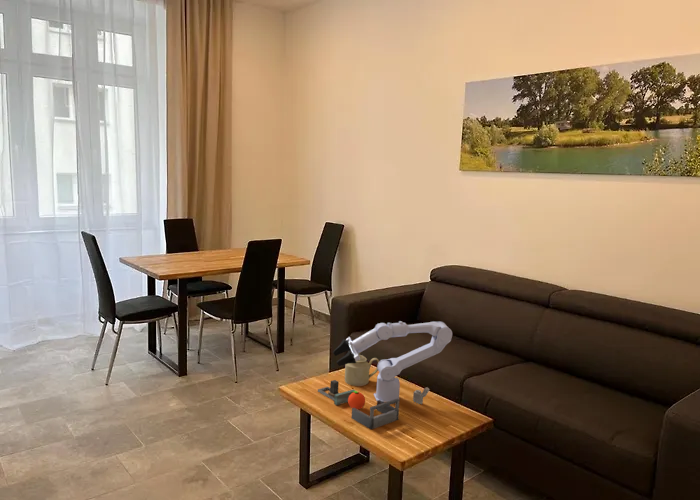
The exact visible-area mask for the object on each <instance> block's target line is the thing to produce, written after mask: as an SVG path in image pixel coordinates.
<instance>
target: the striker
mask: <svg viewBox="0 0 700 500" xmlns="http://www.w3.org/2000/svg"><path fill="white" fill-rule="evenodd" d="M329 388H330V391H328V392H327V393H328V394H329V395H331V396H333V397H335V398H334V400H333V401H334V403H333V404H334V405H335V406H339V405H342V404H346V403H348V398H349V396H350V395H351V392H352V391H357V390H355V389H350V390H347V391H346V390H345V391H343V392H339V381H338V380H337V379H334V380H331V381H330V385H329ZM338 392H339V393H338ZM352 393H353V392H352Z"/></svg>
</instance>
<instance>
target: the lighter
mask: <svg viewBox="0 0 700 500" xmlns="http://www.w3.org/2000/svg"><path fill="white" fill-rule="evenodd" d="M429 391H430V388H429V387H428V386H427V387H424V389H423V391H422V390H420V389H415V391H413V393H412V394H413V396H412V400H413V401H414V402H413V401H412V402H413V403H415V402H416V403H415V404H417V403H418V404H417V405H419V404H421V405H423V403H424V398H425V397H426V396H427V395H428V393H429Z"/></svg>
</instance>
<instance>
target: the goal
mask: <svg viewBox="0 0 700 500" xmlns="http://www.w3.org/2000/svg"><path fill="white" fill-rule="evenodd" d="M400 402H401V401H400V398H399V399H398V398H397V399H394V400H391V401H388V402H383V401H381V400H376V405H372V406H370V407H369V415H368V414H367V413H365V412H363V411H361V410H360V409H356V408H351V417H350V418H351V419H352V420H354V421H356V422H358V423H359V424H361V425H362V426H364V427H366V428H367V429H369V430H373V429H374V430H375V429H376V428H379V427H382V426H385V425H388V424H390V423H394V422H395V421H398V420H399V417H400ZM394 404H395V405H394ZM392 405H394V406H392ZM375 411H377V412H379V413H380V414H378V415H375Z"/></svg>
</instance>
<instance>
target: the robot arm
mask: <svg viewBox="0 0 700 500" xmlns="http://www.w3.org/2000/svg"><path fill="white" fill-rule="evenodd" d="M417 333H418V334H420V333H421V334H423V333H424V334H425V333H427V334H429V335H431V339H430V342H429V343H426V344H424V345H422V346H420V347H418V348H415V349H413V350H411V351H409V352H407V353H405V354H402V355H400V356H398V357H391V358H388V359H385V358H384V359H380V360H379V363H378V362H377V366H376V368H378V371H377V372H378V375H377V378H376V391H375V392H374V393H373V396H374V398H375V400H376V401H377V400H381V401H383V402H384V403H385V402H388V401H391V400H394V399H397V398H398V399H400V388H401V385H400V384H401V383H400V379H399V378H398V377H397V376H398V375H401V372H402V371H403V370H404V369H407V368H409V367H411V366H413V365H416V364H418V363H420V362H423V361H424V360H426V359H429V358H432V357H434V356H435V355H438V354H440V353H441V352H442V351H443V350H444V349H445V347H446V346H447V345H448V344H449V343H450V342H451V341H452V337H453V331H452V329H451V328H449V326H447V324H446V323H445V322H444V321H434V320H433V321H430V322H423V323H422V322H420V323H414V324H413V323H412V324H407V323H406V322H403V321H401V320H399V321H398V322H393V323H392V322H387V323H385V322H380V323H378V322H377V324H375V326H374V328H373V329H370V330H369V331H367V332H365V333H364V334H362V335H360V336H359V337H356V338H355V339H353V340H352V338H351V337H350V336H348V337H347V338H346V339H345V338H343V339H342V340H341V342H340V344H339V345H337V347H336V348H334V350H333V351H332V354H333V355H334V356H335V357H336V356H339V355H341V354H343V353H345V352H346V354H344V355H343V356H342V357H341V358H339V359H338V360H336V364H337V366H338V367H341V366H345V364H349V363H356V361H358V360H359V359H360V357H359V355H360V354H361V353H362V352H363V351H366V350H367V349H369V348H370V347H372V346H373V345H375V344H377V343H379V342H380V341H382V340H383V341H387V340H388V339H390V338H399V337H407V336H408V335H409V334H417ZM359 353H360V354H359ZM355 360H356V361H355Z"/></svg>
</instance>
